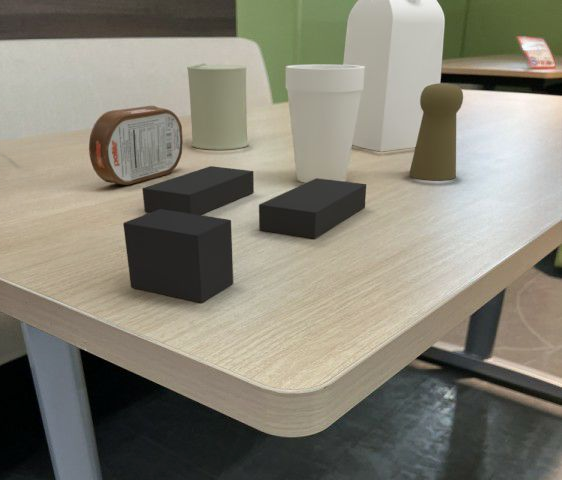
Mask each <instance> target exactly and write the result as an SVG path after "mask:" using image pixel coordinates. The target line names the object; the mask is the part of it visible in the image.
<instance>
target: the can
mask: <svg viewBox="0 0 562 480" xmlns="http://www.w3.org/2000/svg"><path fill="white" fill-rule="evenodd" d="M186 69H187V76H188V77H187V79H188V88H189V91H188V92H189V103H190V104H189V105H190V117H191V118H190V120H191V122H190V123H191V146H192V147H193V148H196V149H200V150H209V151H225V150H226V151H229V150H238V149H243V148H247V147H248V146H249V141H248V123H247V122H248V121H247V119H248V117H247V66H246V65H239V64H238V65H237V64H207V63H206V62H203V63H198V64H194V65H188V66H187V67H186Z"/></svg>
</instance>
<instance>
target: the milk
mask: <svg viewBox="0 0 562 480" xmlns="http://www.w3.org/2000/svg"><path fill="white" fill-rule="evenodd" d="M444 13H445V12H444V11H443V8H442V6H441V5H440V3H439V2H438V0H357V1H356V2H355V4H354V5H353V7H352V8H351V10H350V12H349V14H348V17H347V22H346V31H345V32H346V33H345V42H344V50H343V51H344V52H343V60H342V61H343V63H342V65H357V66H364V67H365V71H364V87H363V90H362V91H361V96H360V102H359V108H358V113H357V119H356V125H355V130H354V136H353V142H352V146H354V147H359V148H363V149H367V150H371V151H375V152H381V153H382V152H383V153H384V152H390V151H397V150H406V149H412V148H413V149H415V147H416V143H417V138H418V134H419V130H420V125H421V121H422V117H423V110H422V108H421V105H420V97H421V93H422V91H423V90H424V88H425V87H427V86H428V85H432V84H438V83H441V79H442V64H443V53H444V39H445V27H446V25H445V24H446V19H445V14H444Z"/></svg>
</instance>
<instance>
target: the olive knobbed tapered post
mask: <svg viewBox="0 0 562 480" xmlns="http://www.w3.org/2000/svg"><path fill="white" fill-rule="evenodd" d="M463 101H464V93H463V90H462V88H461V87H460V86H459V85H456V84H453V83H443V82H442V83H441V82H440V83H438V84H432V85H428V86H427V87H425V88H424V90H423V91H422V93H421V97H420V105H421V108H422V110H423V117H422V121H421V125H420V130H419V134H418V138H417V143H416V147H414V151H413V156H412V159H411V160H412V161H411V165H410V170H409V176H410V177H411V178H414V179H419V180H425V181H448V180H454V179H455V178H456V177H457V113H458V112H459V111H460V109H461V108H462V105H463Z"/></svg>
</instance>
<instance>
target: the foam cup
mask: <svg viewBox="0 0 562 480" xmlns="http://www.w3.org/2000/svg"><path fill="white" fill-rule="evenodd" d="M364 71H365V67H364V66H357V65H343V64H332V63H331V64H330V63H329V64H328V63H327V64H326V63H325V64H322V63H320V64H319V63H318V64H317V63H315V64H312V63H311V64H291V65H286V66H285V89H286V90H287V99H288V109H289V118H290V127H291V138H292V146H293V155H294V164H295V165H294V166H295V173H296V175H297V176H296V180H297V181H299V182H301V183H303V184H305V183H307V182H309V181H311V180H314V179H316V178H318V179H327V180H335V181H344V182H347V181H346V179H347V175H348V170H349V164H350V159H351V153H352V147H353V145H352V142H353V136H354V130H355V125H356V119H357V113H358V108H359V102H360V96H361V91H362V90H363V87H364Z"/></svg>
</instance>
